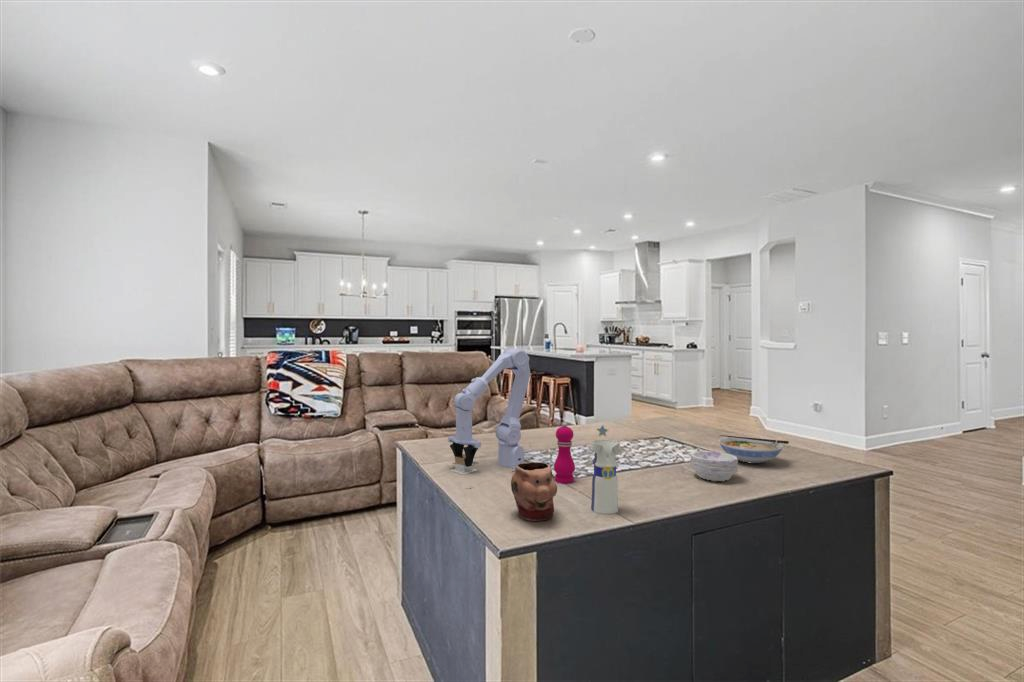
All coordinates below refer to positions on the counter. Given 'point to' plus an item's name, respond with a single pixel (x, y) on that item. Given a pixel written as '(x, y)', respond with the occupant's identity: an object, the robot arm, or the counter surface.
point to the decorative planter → (534, 490)
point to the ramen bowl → (751, 448)
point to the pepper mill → (564, 455)
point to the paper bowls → (714, 465)
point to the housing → (462, 464)
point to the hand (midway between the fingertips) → (464, 464)
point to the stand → (462, 472)
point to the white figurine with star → (605, 475)
